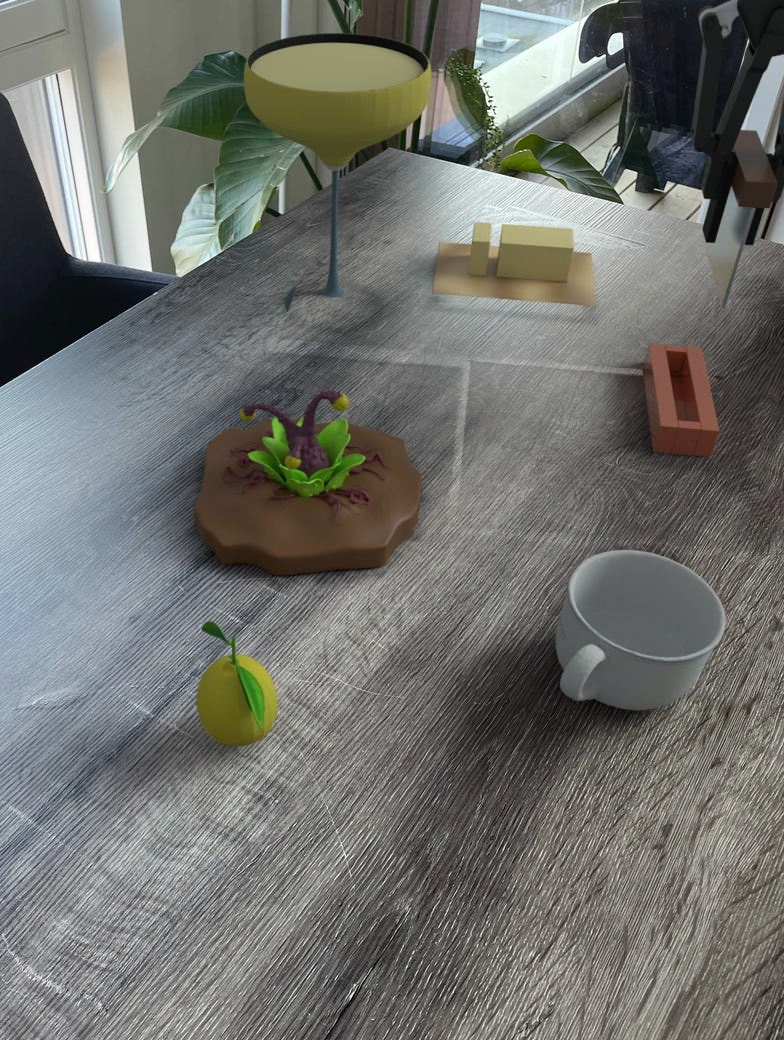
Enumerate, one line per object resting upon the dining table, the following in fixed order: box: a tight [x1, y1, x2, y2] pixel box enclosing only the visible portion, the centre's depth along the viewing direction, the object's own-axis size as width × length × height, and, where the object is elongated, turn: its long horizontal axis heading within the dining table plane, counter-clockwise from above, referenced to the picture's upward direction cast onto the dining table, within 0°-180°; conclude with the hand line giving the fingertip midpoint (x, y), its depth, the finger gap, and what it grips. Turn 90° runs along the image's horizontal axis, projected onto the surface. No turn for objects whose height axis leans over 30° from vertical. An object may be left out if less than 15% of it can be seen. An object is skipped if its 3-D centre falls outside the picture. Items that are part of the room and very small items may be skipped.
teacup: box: [555, 549, 727, 711], centre depth 74 cm, size 14×11×8 cm
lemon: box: [196, 620, 278, 747], centre depth 69 cm, size 7×6×10 cm
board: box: [431, 241, 597, 307], centre depth 120 cm, size 18×13×2 cm
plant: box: [192, 389, 423, 576], centre depth 88 cm, size 20×20×11 cm
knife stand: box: [641, 342, 720, 458], centre depth 100 cm, size 5×15×4 cm, turn 171°
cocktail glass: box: [243, 32, 432, 312], centre depth 108 cm, size 18×18×25 cm
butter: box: [496, 223, 575, 282], centre depth 118 cm, size 8×5×4 cm, turn 81°
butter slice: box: [468, 221, 493, 276], centre depth 119 cm, size 2×5×4 cm, turn 171°
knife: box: [706, 129, 778, 309], centre depth 87 cm, size 2×11×10 cm, turn 171°
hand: (727, 236), depth 88 cm, fingers closed on knife, 2 cm apart
